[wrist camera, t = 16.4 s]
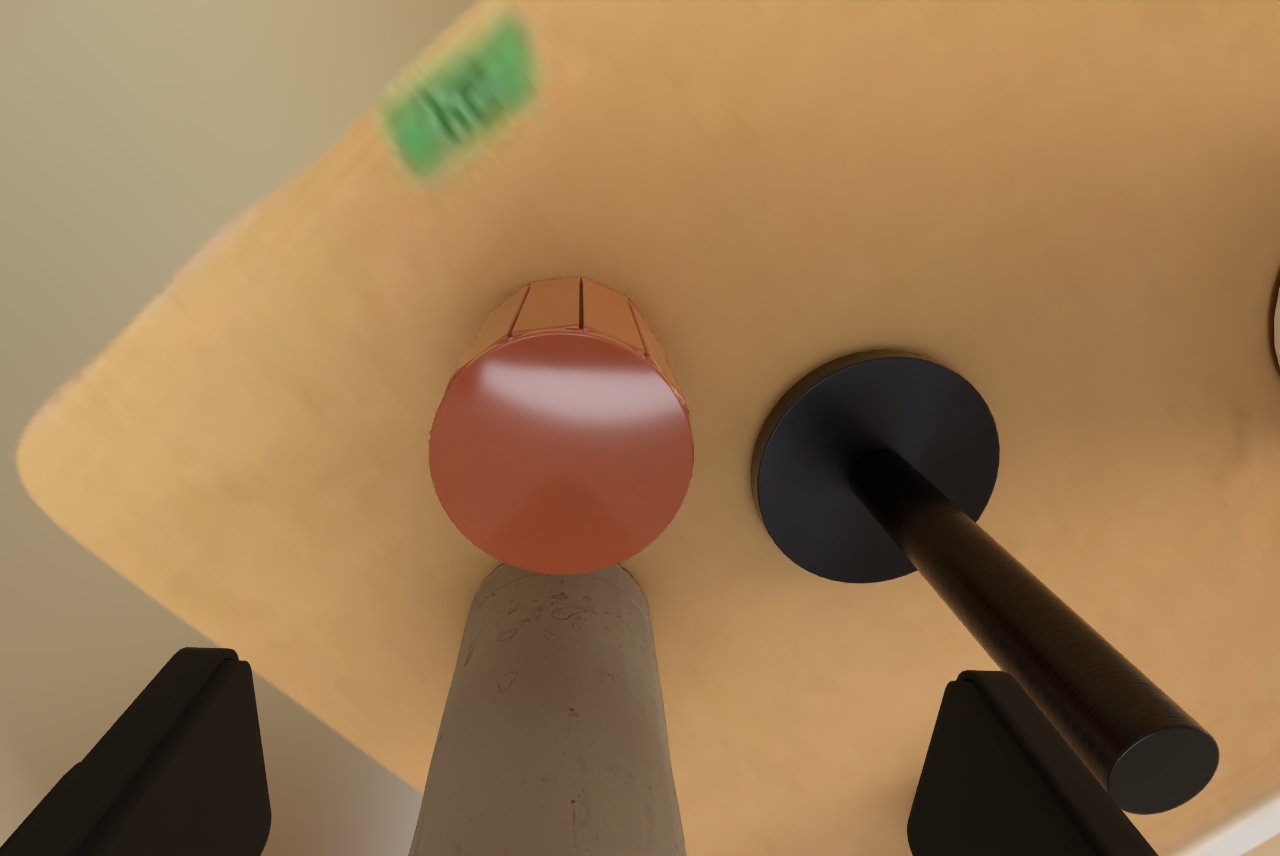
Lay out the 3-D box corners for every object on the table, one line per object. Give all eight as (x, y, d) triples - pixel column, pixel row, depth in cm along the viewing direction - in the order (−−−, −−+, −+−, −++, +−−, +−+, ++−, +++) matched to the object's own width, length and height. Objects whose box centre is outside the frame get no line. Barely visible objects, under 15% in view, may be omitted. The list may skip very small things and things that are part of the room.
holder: (824, 309, 27) (1127, 485, 12) (1030, 405, 29) (1505, 656, 14) (710, 524, 30) (839, 882, 15) (905, 597, 32) (1189, 975, 17)
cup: (515, 246, 25) (482, 286, 17) (689, 323, 27) (739, 394, 18) (450, 415, 27) (392, 526, 19) (615, 478, 29) (629, 606, 20)
